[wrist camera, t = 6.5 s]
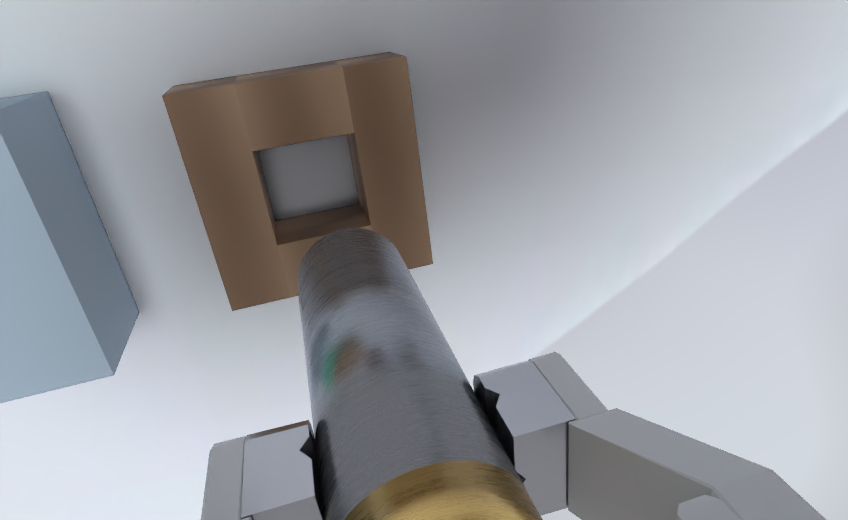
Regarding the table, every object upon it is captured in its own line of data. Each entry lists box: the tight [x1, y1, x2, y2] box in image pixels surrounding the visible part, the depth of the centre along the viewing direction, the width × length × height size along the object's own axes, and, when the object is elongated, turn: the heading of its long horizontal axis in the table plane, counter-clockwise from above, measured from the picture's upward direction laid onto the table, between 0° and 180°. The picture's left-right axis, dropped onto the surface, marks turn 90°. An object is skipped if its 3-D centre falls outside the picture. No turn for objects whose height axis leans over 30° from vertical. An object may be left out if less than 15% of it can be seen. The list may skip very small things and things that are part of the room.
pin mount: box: [162, 52, 433, 311], centre depth 23 cm, size 9×9×3 cm
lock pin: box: [297, 228, 542, 520], centre depth 10 cm, size 3×3×10 cm
